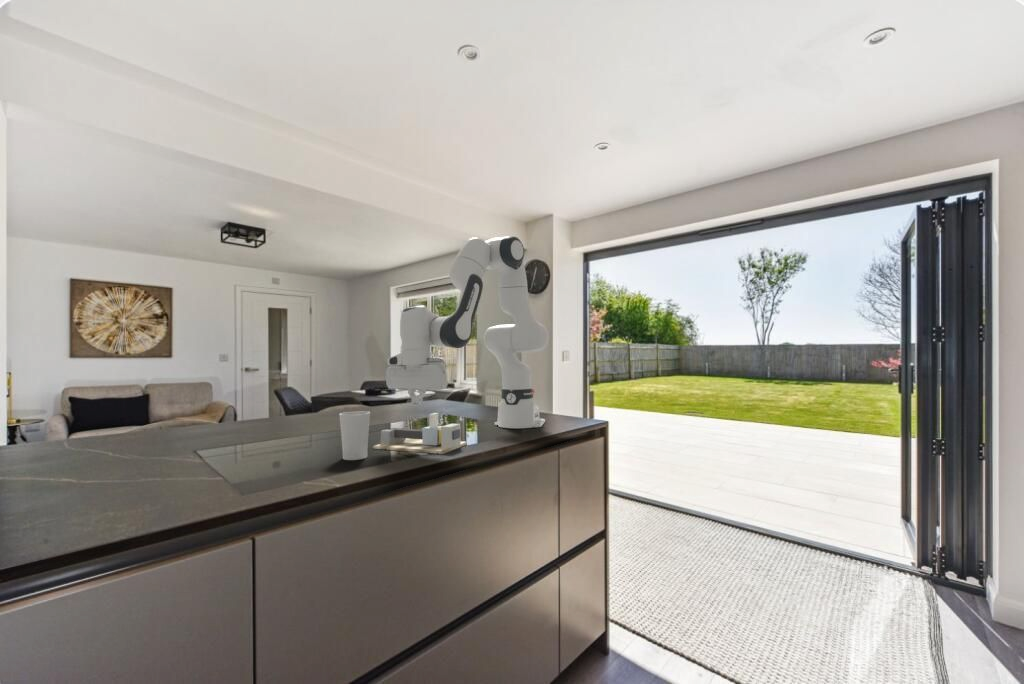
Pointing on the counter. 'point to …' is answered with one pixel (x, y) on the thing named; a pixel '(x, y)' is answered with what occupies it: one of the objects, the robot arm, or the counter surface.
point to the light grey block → (390, 436)
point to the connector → (450, 435)
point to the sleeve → (431, 431)
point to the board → (417, 446)
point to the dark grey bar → (411, 433)
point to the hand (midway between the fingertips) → (417, 403)
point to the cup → (354, 434)
